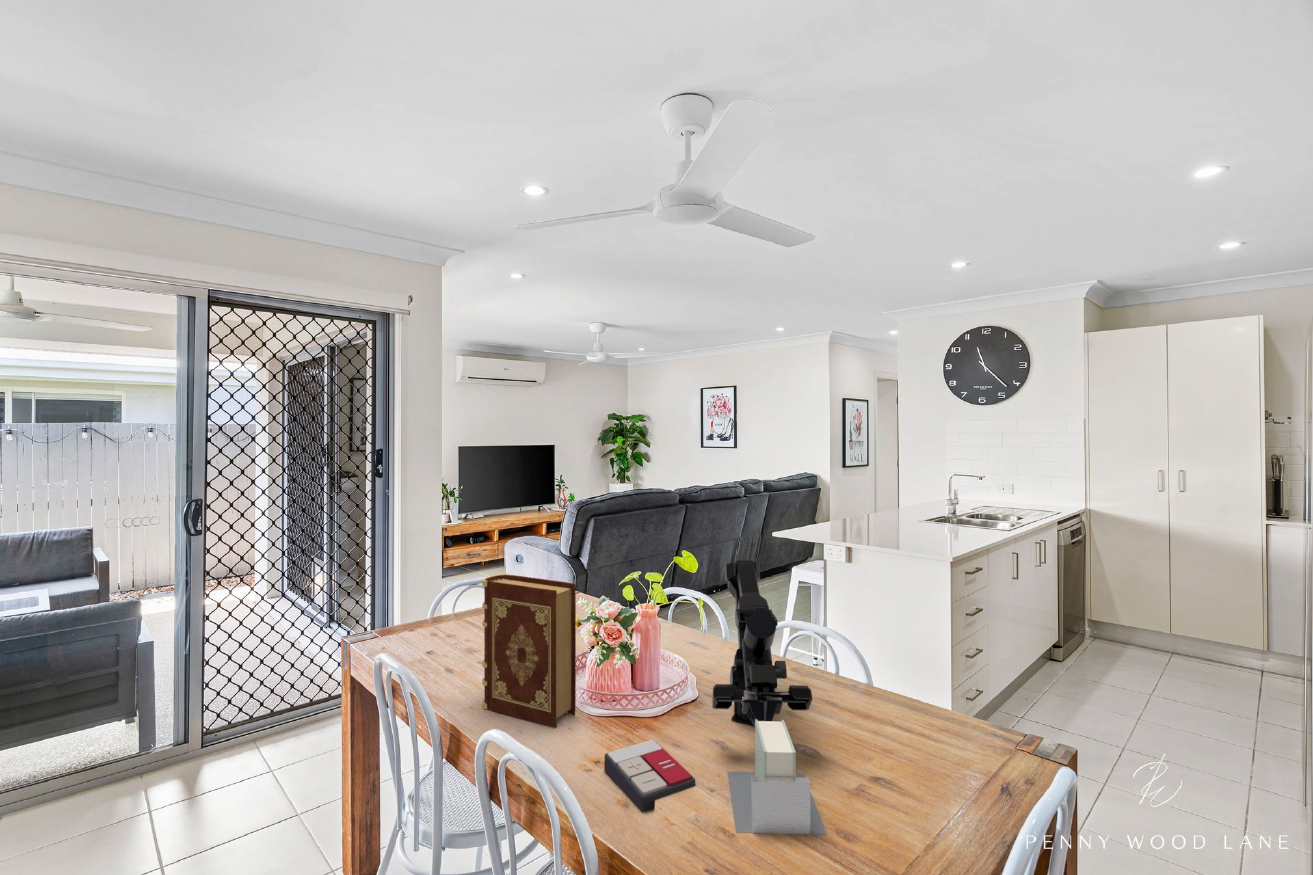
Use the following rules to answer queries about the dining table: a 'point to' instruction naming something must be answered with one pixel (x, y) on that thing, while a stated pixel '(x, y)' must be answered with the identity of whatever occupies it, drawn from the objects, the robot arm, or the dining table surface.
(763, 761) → the book
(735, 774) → the shelf board
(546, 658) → the decorative book
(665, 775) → the calculator
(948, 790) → the dining table surface
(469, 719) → the dining table surface
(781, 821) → the bookend
